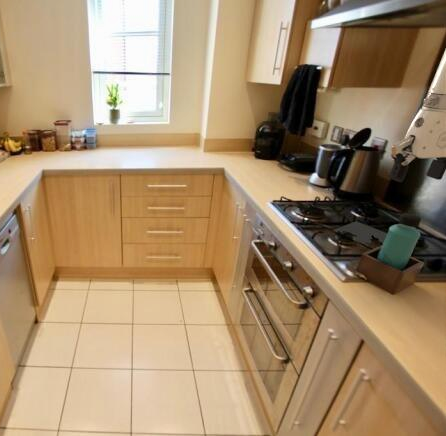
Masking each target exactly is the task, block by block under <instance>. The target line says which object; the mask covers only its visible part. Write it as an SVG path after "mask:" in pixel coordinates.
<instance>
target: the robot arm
mask: <svg viewBox="0 0 446 436" xmlns="http://www.w3.org/2000/svg"><path fill="white" fill-rule="evenodd" d="M422 103H423V104H422V106H421V108H420V109H419V111H417V114H416V115H415V116H414V118H413V120H412V122H411V124H410V126H409V128H408V130H407V132H406V134H405V136H404V138H403V139H402V140H400V141H399V140H398V141H397V142H395V143H393V144H392V145H391V147H390V149H391V156H390V157H391V158H392V162H393V166H392V168H391V170H390V174H389V175H388V178H389V179H390V180H393V181H395V182H398V183H403V182H404V181H405V178H406V176H407V173H408V171H409V168H410V165H409V164H410V163H411V162H412V161H413V160H415V158H418V159H432V161H431V163H430V165H429V167H428V169H427V172H426V174H425V175H426V177H428V178H432V179H435V180H437V181H440V180H442V179H443V177H444V175H445V173H446V49H445V50H444V52H443V54H442V57H441V60H440V62H439V65H438V66H437V69H436V73H435V75H434V77H433V79H432V82H431V84H430V87H429V89H428V92H427V94H426V96H425V98H424V99H423V102H422ZM406 156H407V157H406Z"/></svg>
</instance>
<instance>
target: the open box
mask: <svg viewBox="0 0 446 436" xmlns="http://www.w3.org/2000/svg"><path fill="white" fill-rule="evenodd" d="M381 248H382V245H381V246H379V247H376V248H374V249H370V250H368V251H366V252H363V253H361V255H360V258H359V260H358V263H357V264H356V267H355V270H356V271H357V272H359V273H361V274H363V275H364V276H365V277H366V278H367V281H366V282H368V283H370V284H372V285H374V286H376V287H378V288H379V289H382V290H383V291H385V292H388V293H389V294H391V295H393V296H394V295H396V294H398V293H400V292H401V291H403V290H405V289H407V288H408V287H410V286H411V285H414V284H415V283H416V280H417V278H418V277H419V274H420V273H421V270H422V269H423V267H424V265H425V262H424V261H421V260H419V259H418V258H415V257H412V256H410V258H409V259H410V260H409V262H408V263H407V266H406V267H405V268H406V269H404V271H401V270H399V269H396V268H394V267H392V266H390V265H388V264H386V263H384V262H381V261H379V260H377V257H378V255H379V254H378V253H379V252H380V250H381Z"/></svg>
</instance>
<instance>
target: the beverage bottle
mask: <svg viewBox="0 0 446 436" xmlns="http://www.w3.org/2000/svg"><path fill="white" fill-rule="evenodd" d="M421 221H422V218H421V217H420V216H419V215H416V214H414V213H408V212H407V213H402V214H400V216H399V218H398V220H397V222H398V223H397V224H393V225H391V226H389V228H388V231H387V236H386V239H385V241H384V243H383V245H382V248H381V250H380V252H379V253H378V254H379V255H378V257H377V260H379V261H381V262H384V263H386V264H388V265H390V266H392V267H394V268H396V269H399V270H401V271H404V269H406V268H405V267H406V266H407V263H408V262H409V260H410V259H409V258H410V257H412V254H413V252H414V250H415V247H416V244H418V242H419V241H418V240H419V239H420V238H421V233H420V231H419V230H418V229H417V227H420V224H421Z"/></svg>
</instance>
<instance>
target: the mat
mask: <svg viewBox="0 0 446 436" xmlns="http://www.w3.org/2000/svg"><path fill="white" fill-rule="evenodd" d="M338 231H340V232H342V231H348V232H350V233H352V234H354V235H357V236H356V237H357V238H356V241H358V242H360V243H364V241H365V242H368V243H371V240H370V239H372V237H371V236H372V235H373V236H374V237H375V238H378V239H379V241H380V242H382V244H383V243H384V241H385V239H386V236H387V234H388V232H385V231H382V230H380V229H377V228H375V227H372V226H370V225H367V224H365V223H362V222H359V221H357V220H356V221H353V222H350V223H348V224H345V225H343V226H340V227H337V228H334V229H333V230H332V233H335V234H337V232H338Z"/></svg>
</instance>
